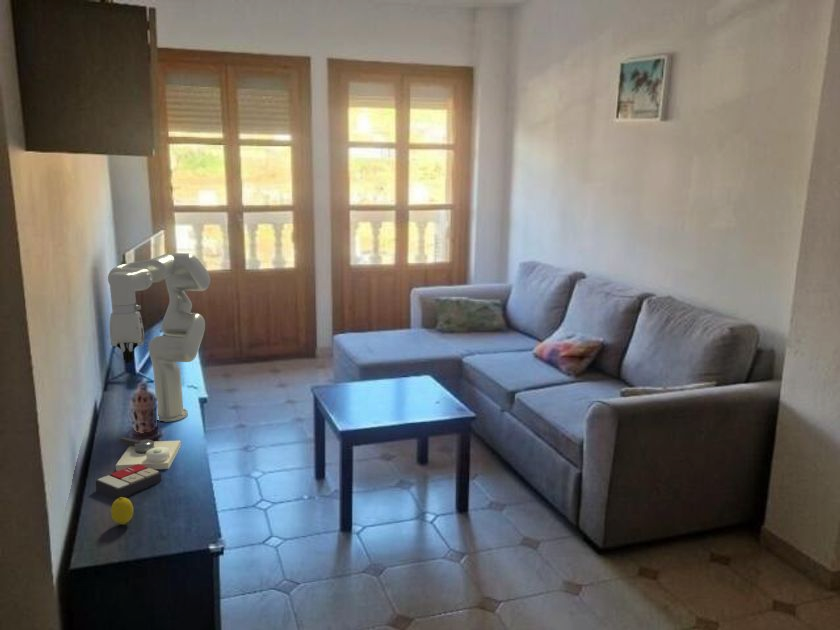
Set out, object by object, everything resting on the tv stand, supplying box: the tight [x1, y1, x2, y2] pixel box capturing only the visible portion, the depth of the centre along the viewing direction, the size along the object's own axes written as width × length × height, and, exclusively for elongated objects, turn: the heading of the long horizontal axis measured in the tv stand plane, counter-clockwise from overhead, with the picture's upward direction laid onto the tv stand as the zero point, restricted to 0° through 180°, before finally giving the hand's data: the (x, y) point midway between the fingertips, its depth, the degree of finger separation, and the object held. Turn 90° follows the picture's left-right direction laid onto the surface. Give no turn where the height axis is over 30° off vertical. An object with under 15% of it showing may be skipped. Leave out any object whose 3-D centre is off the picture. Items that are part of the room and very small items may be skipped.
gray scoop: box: [119, 436, 155, 454], centre depth 231 cm, size 13×6×2 cm, turn 66°
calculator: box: [95, 464, 162, 500], centre depth 209 cm, size 11×4×15 cm
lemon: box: [110, 497, 134, 526], centre depth 186 cm, size 6×6×8 cm
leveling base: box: [115, 440, 182, 472], centre depth 228 cm, size 18×16×5 cm
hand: (129, 361), depth 234 cm, fingers closed
